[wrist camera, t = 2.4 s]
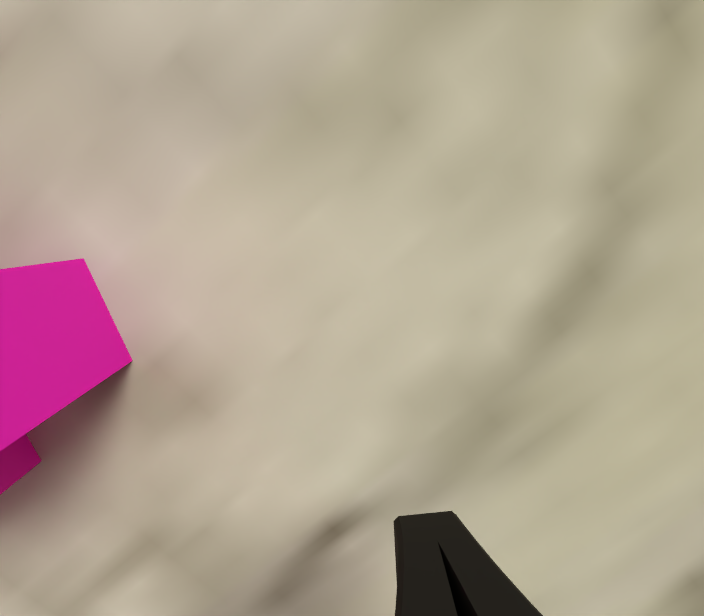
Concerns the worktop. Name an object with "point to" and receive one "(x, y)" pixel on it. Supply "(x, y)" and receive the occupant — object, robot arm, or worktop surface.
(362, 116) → the worktop surface
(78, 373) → the toy block
